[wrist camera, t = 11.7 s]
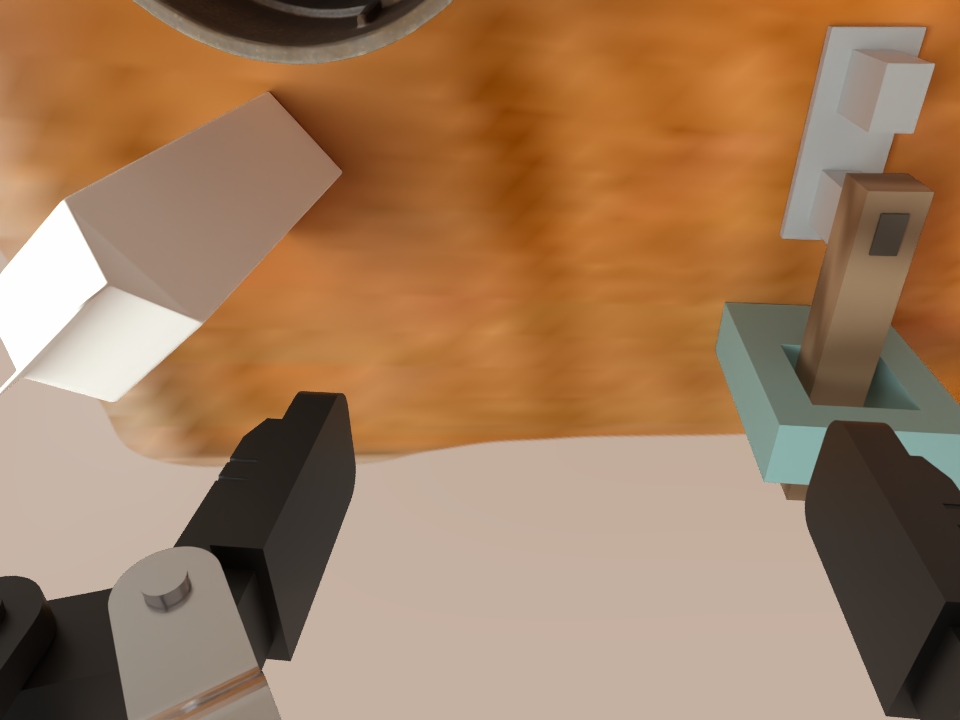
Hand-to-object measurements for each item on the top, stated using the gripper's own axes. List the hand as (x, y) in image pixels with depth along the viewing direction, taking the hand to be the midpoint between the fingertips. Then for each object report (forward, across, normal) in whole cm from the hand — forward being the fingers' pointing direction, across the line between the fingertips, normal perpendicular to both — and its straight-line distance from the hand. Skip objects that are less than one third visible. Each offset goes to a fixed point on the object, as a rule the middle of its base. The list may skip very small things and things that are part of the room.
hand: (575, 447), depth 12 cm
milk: (+30, +17, +4) cm, 35 cm away
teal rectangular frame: (+30, -15, +14) cm, 36 cm away
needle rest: (+30, -15, +2) cm, 34 cm away
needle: (+25, -15, +12) cm, 32 cm away
